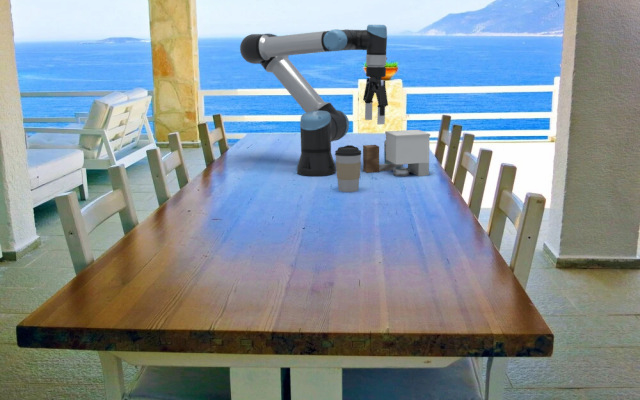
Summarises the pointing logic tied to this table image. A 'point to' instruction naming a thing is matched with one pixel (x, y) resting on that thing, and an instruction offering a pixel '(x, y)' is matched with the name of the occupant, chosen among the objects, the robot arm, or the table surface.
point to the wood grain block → (374, 160)
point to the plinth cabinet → (409, 150)
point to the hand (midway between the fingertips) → (374, 122)
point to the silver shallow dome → (401, 171)
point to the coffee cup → (348, 168)
